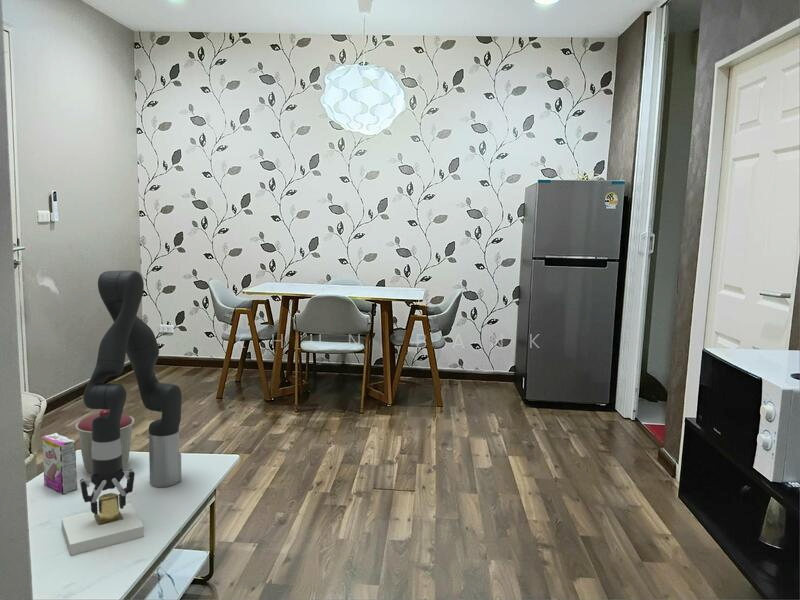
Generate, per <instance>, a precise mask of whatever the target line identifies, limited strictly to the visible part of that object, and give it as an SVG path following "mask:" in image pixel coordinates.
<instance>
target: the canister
mask: <svg viewBox="0 0 800 600" xmlns="http://www.w3.org/2000/svg"><path fill="white" fill-rule="evenodd" d="M104 415H109V409H100V411H99V413H95V414H91V415H88V416H86V417H84V418H82V419H81V420H79V421H78V422H76V423H75V426H74V427H75V429H76V430H77V433H78V439H79V445H80V453H81V457H82V463H83V466H84V468H85V471H86V472H88V473H90V474H92V422H93V420H94V419H95V418H97V417H100V416H104ZM134 424H135V418H134V417H133V416H131V415H129V414H126V413H123V412H122V416H121V421H120V438H121V444H122V470H123V469H124V468H125V467H126V465H128V462H129V457H130V453H131V452H130V451H131V445H132V444H131V443H132V433H133V425H134Z"/></svg>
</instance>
